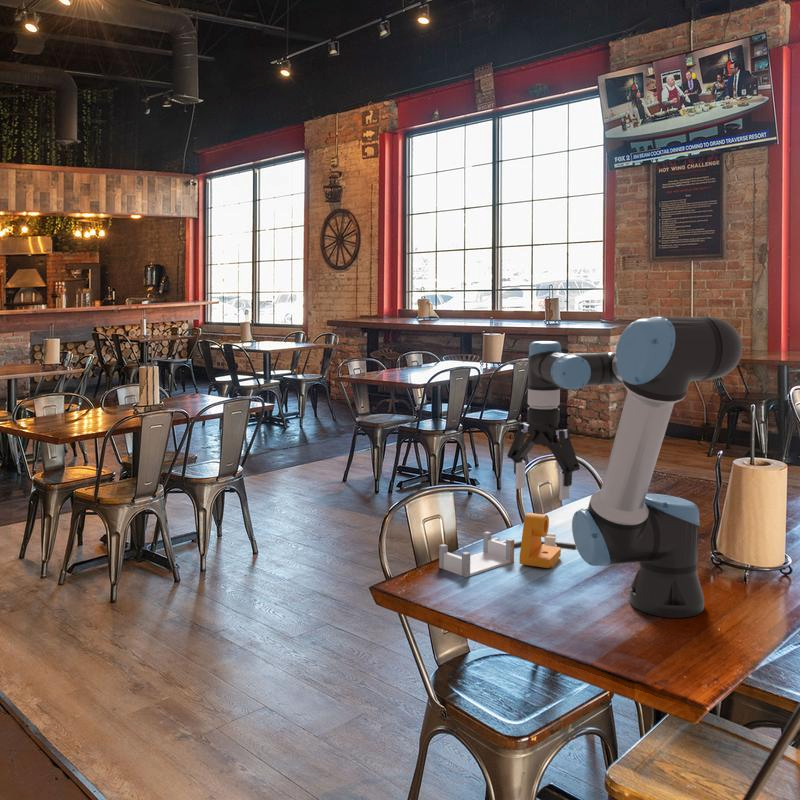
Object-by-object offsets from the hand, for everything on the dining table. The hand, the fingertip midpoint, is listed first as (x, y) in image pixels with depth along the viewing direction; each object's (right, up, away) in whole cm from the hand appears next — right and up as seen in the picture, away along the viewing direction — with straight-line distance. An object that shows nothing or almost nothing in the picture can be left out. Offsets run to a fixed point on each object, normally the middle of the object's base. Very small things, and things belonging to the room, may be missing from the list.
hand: (541, 493), depth 203 cm
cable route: (-1, -16, +12) cm, 20 cm away
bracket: (0, -17, +2) cm, 18 cm away
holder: (-16, -17, +1) cm, 23 cm away
